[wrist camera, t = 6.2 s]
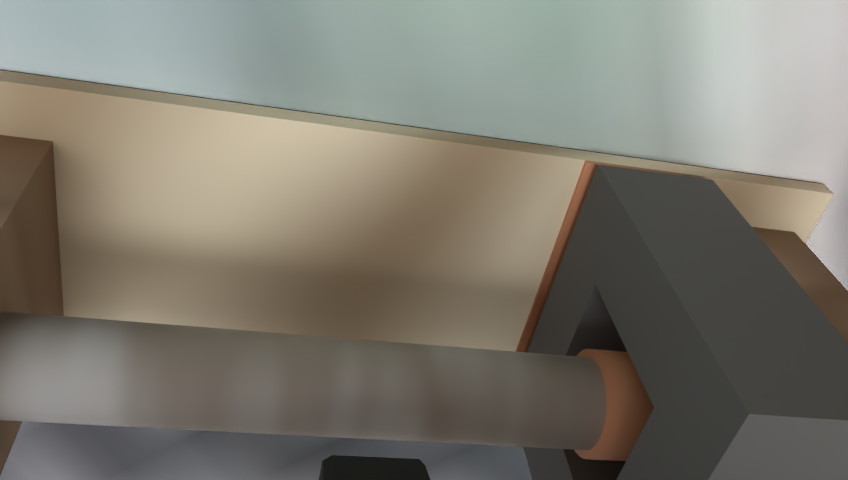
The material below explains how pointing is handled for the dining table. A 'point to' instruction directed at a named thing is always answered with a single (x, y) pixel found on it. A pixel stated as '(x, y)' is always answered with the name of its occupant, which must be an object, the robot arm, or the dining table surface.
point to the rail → (312, 273)
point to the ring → (696, 338)
